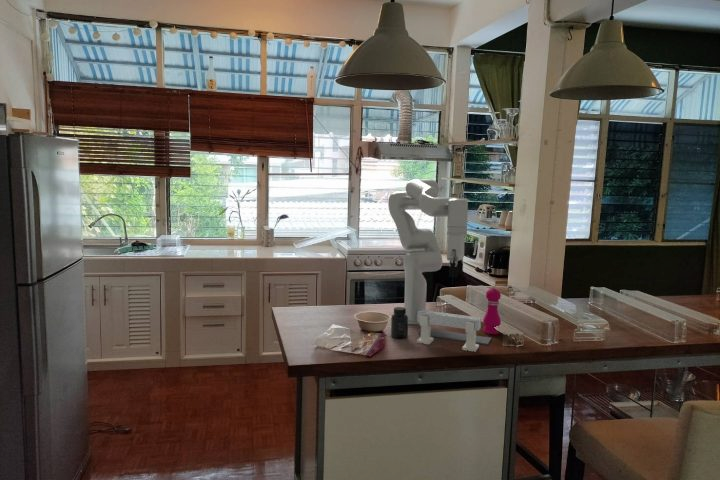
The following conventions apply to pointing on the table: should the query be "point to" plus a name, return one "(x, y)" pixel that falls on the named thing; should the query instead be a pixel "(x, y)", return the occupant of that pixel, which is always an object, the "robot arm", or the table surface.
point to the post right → (470, 338)
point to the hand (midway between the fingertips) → (455, 274)
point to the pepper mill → (492, 311)
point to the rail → (449, 319)
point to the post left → (425, 331)
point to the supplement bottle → (399, 324)
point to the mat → (457, 336)
